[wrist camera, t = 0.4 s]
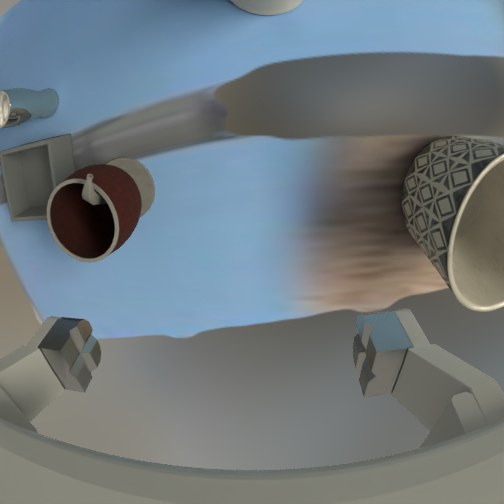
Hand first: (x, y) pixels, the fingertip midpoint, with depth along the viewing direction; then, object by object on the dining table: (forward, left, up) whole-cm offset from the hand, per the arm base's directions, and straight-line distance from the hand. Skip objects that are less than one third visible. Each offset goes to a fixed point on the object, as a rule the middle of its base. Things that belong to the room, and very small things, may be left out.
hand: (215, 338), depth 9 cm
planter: (+7, +38, -47) cm, 61 cm away
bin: (+3, -43, -47) cm, 63 cm away
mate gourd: (+7, -24, -47) cm, 53 cm away
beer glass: (-12, -41, -47) cm, 63 cm away
